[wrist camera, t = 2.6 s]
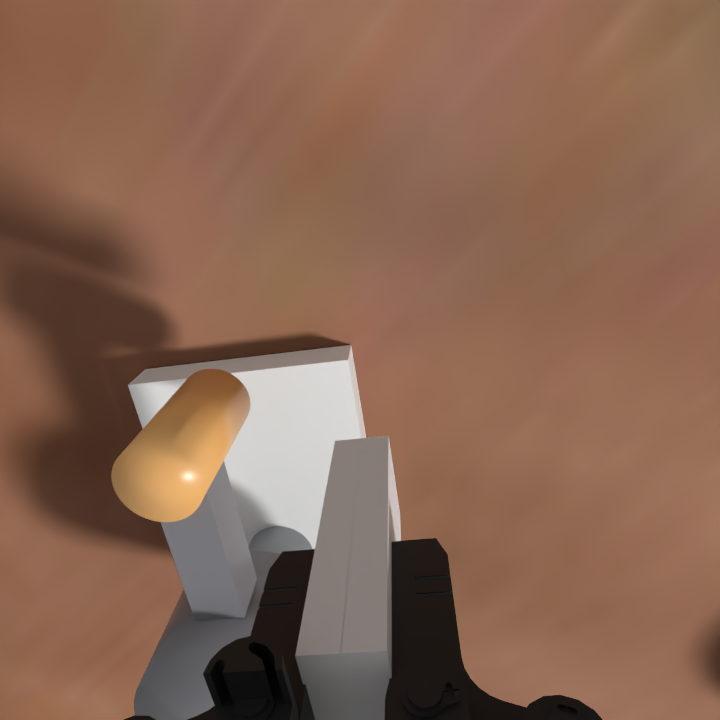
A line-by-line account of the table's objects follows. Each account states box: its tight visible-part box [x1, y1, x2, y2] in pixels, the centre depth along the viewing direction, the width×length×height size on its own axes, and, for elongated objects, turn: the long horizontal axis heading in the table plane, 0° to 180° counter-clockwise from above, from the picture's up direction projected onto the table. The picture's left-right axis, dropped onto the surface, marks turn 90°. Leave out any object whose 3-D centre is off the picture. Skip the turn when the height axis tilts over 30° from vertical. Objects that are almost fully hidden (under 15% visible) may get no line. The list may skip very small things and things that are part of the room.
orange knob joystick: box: [111, 368, 280, 720], centre depth 22 cm, size 16×8×6 cm, turn 8°
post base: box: [128, 345, 366, 554], centre depth 28 cm, size 22×11×6 cm, turn 8°
